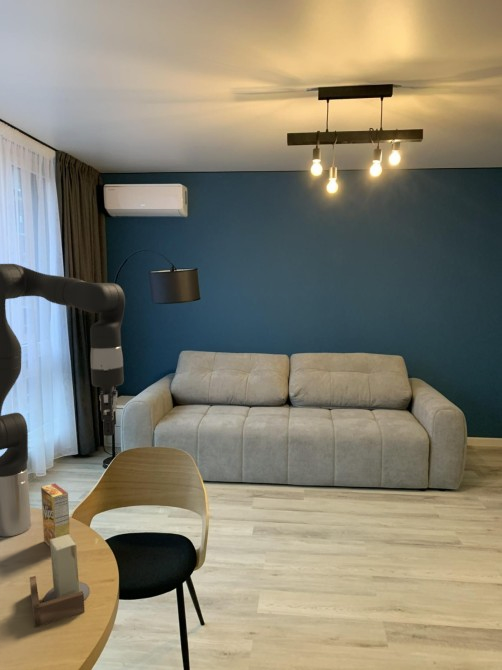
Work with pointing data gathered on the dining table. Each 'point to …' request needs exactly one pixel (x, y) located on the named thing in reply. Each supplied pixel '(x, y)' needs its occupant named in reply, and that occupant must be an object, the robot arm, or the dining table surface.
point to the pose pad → (82, 587)
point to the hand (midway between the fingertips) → (110, 430)
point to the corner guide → (54, 606)
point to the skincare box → (64, 566)
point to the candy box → (54, 512)
